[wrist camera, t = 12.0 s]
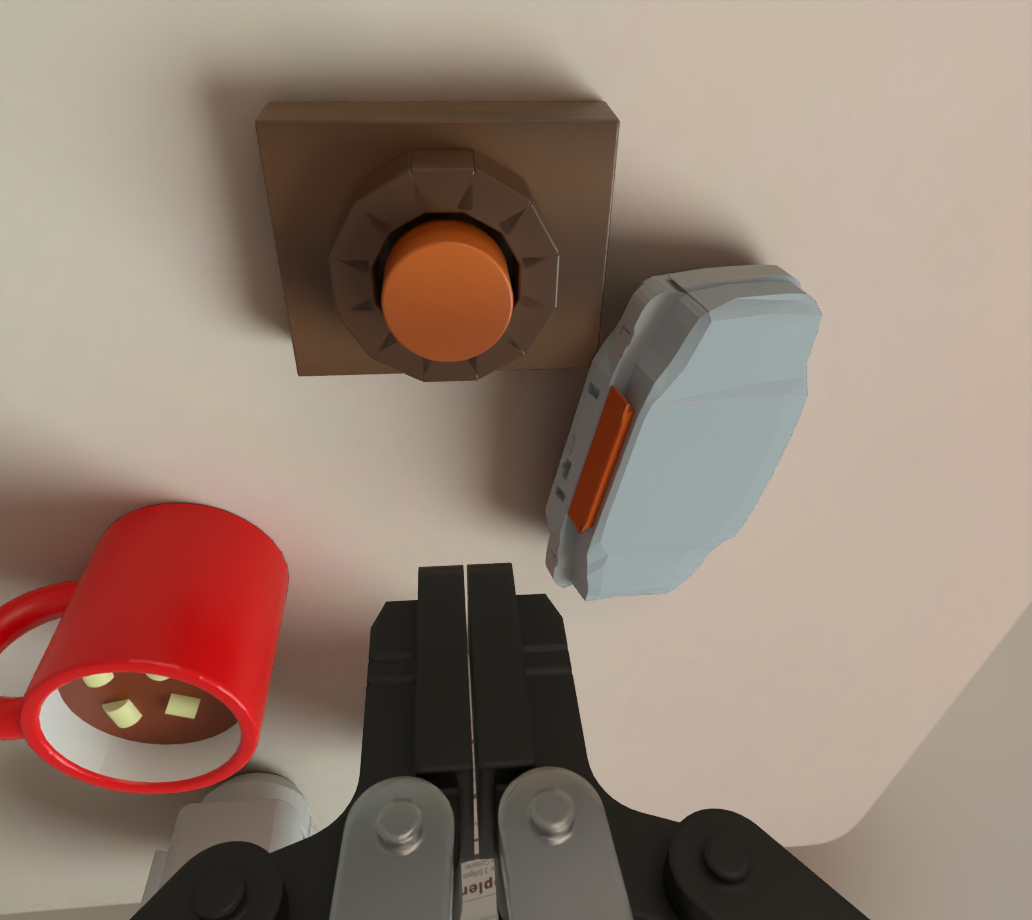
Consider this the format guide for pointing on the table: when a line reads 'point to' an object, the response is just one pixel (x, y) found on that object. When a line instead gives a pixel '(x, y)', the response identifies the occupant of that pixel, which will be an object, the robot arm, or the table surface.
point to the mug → (154, 653)
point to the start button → (446, 291)
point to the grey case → (679, 427)
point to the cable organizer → (234, 822)
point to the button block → (431, 196)
